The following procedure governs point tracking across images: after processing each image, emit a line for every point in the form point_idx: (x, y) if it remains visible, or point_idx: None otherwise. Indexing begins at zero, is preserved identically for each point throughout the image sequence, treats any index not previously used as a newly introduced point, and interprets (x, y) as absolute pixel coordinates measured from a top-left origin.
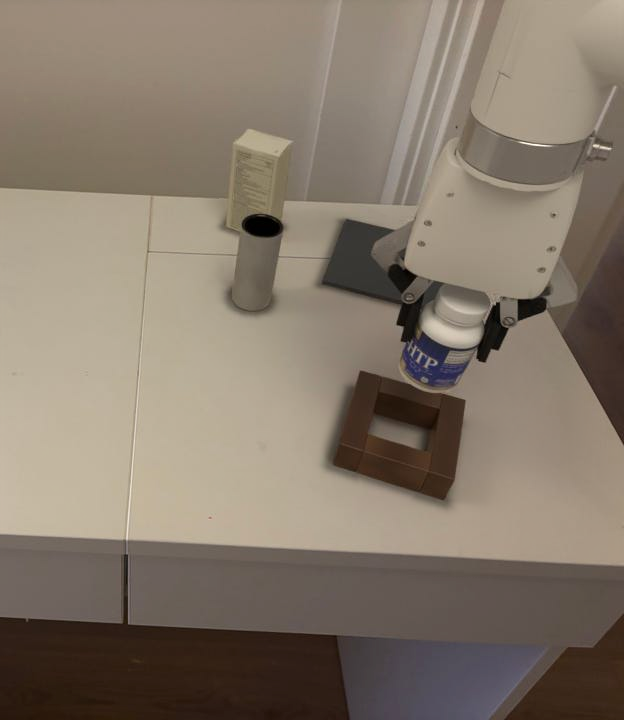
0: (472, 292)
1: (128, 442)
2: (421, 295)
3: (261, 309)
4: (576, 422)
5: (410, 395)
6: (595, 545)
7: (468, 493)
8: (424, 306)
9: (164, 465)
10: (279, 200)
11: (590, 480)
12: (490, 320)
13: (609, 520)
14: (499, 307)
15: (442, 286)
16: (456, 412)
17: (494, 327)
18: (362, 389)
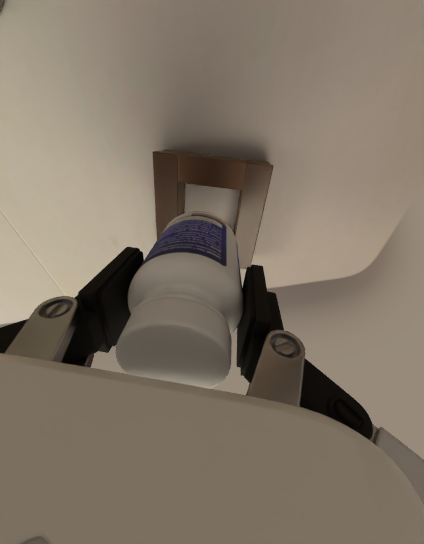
0: (188, 350)
1: (35, 260)
2: (94, 350)
3: (2, 4)
4: (420, 114)
5: (211, 178)
6: (355, 266)
7: (268, 245)
8: (128, 296)
9: (66, 271)
10: None
11: (387, 204)
12: (241, 344)
13: (380, 243)
14: (251, 364)
15: (118, 349)
16: (259, 191)
17: (242, 373)
18: (161, 185)
